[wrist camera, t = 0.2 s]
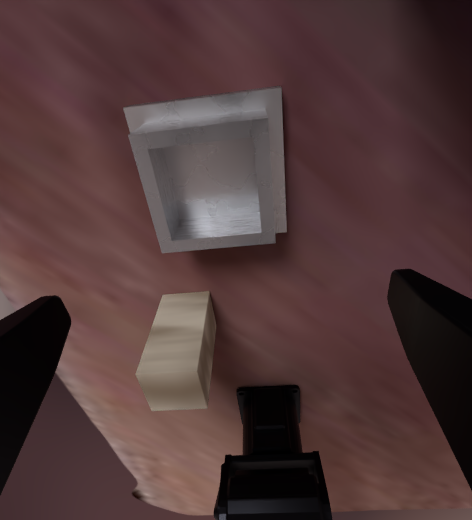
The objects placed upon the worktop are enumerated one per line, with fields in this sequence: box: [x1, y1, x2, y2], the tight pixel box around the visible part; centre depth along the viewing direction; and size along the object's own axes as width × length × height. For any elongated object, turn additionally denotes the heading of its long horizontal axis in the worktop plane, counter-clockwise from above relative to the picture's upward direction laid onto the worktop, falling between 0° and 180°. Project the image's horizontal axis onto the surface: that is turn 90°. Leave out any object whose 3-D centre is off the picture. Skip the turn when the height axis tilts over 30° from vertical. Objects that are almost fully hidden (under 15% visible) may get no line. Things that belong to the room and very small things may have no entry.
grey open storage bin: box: [123, 86, 287, 253], centre depth 20 cm, size 9×9×4 cm
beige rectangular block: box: [136, 291, 216, 411], centre depth 25 cm, size 4×4×8 cm
